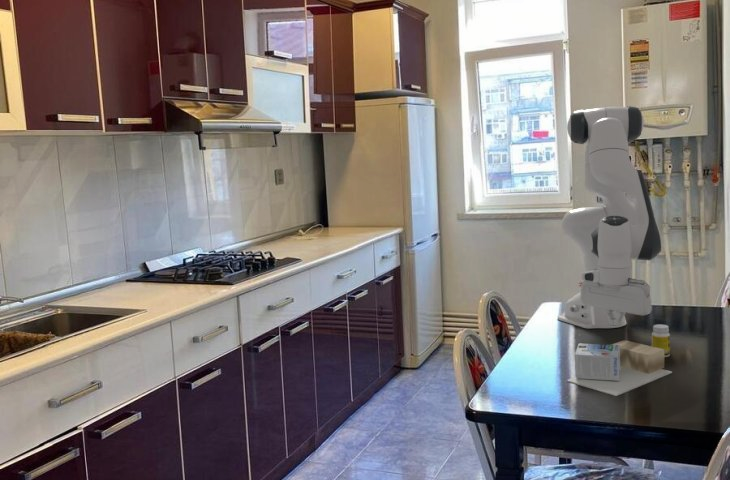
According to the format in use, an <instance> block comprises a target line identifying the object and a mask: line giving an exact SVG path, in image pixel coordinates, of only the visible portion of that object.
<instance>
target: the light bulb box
mask: <svg viewBox="0 0 730 480" xmlns="http://www.w3.org/2000/svg"><path fill="white" fill-rule="evenodd" d="M574 358H575V359H574V361H575V364H574V365H575V377H576V378H579V379H597V380H613V381H620V369H621V364H620V345H612V344H604V343H603V344H601V343H600V344H599V343H582V342H581V343H580V342H579V343H578V344H577V346H576V350H575V354H574Z"/></svg>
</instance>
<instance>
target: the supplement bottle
mask: <svg viewBox="0 0 730 480" xmlns="http://www.w3.org/2000/svg"><path fill="white" fill-rule="evenodd" d="M652 330H653V331H652V332H651V346H652V347H656V348H661V349H664V358H668V357H670V355H671V334H670V332H669V331H670V329H669V325H667V324H659V323H658V324H654V325H653V326H652Z"/></svg>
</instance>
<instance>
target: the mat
mask: <svg viewBox="0 0 730 480" xmlns="http://www.w3.org/2000/svg"><path fill="white" fill-rule="evenodd" d="M670 374H673V371H671V370H668V369H667V370H666V369H664V368H662V369H660V370H657V371H655V372H652V373H650V374H648V373H644V372H640V371H637V370H633V369H629V368H625V367H622V366H621V369H620V381H613V380H597V379H579V378H576V376H574V377H572V378H568V379H567V380H566V382H569V383H572V384H575V385H578V386H582V387H584V388H588V389H591V390H594V391H596V392H597V391H598V392H600V393H605V394H607V395H611V396H613V397H617V396H618V397H619V396H620V395H623V394H625V393H628V392H630V391H632V390H635V389H637V388H639V387H642V386H644V385H646V384H649V383H651V382H654V381H656V380H658V379H660V378H664V377H665V376H668V375H670Z"/></svg>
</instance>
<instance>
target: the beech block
mask: <svg viewBox="0 0 730 480" xmlns="http://www.w3.org/2000/svg"><path fill="white" fill-rule="evenodd" d="M611 345H620V364H621V366H622V367H625V368H629V369H633V370H637V371H640V372H644V373H648V374H650V373H652V372H655V371H657V370H660V369H664V368H665V357H664V349H661V348H656V347H652V345H647V344H643V343H637V342H634V341H630V340H626V339H625V340H624V339H623V340H621V341H618V342H615V343H611Z"/></svg>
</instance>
